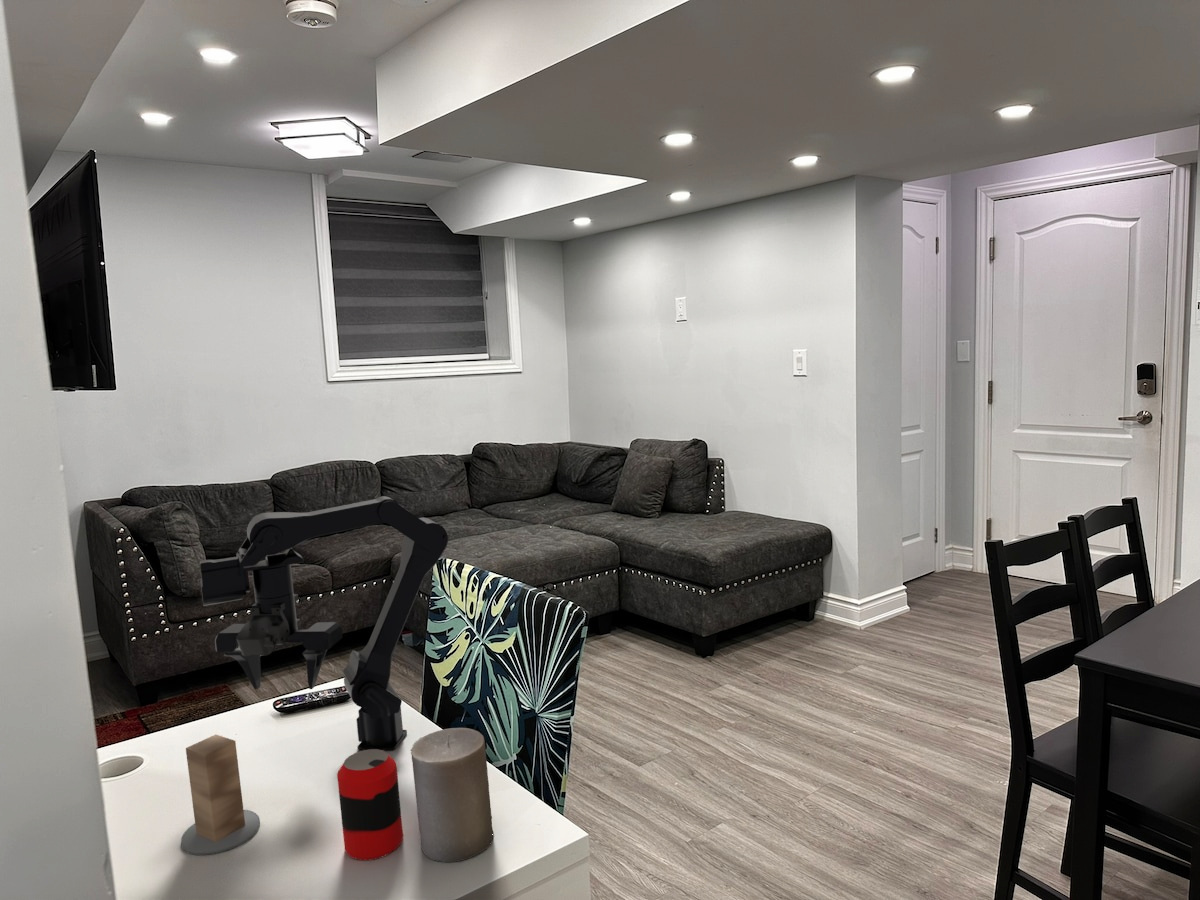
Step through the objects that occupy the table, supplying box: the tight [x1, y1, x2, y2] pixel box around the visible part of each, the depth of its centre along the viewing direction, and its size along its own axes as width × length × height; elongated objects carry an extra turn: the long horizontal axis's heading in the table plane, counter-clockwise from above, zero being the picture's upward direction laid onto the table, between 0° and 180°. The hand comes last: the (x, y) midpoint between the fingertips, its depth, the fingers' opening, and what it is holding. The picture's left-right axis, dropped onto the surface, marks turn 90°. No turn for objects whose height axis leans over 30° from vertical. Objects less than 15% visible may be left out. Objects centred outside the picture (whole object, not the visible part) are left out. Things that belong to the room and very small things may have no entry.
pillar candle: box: [410, 727, 495, 863], centre depth 111 cm, size 10×10×15 cm
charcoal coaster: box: [180, 809, 261, 856], centre depth 117 cm, size 10×10×1 cm
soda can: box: [336, 749, 404, 861], centre depth 112 cm, size 8×8×12 cm
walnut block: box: [185, 734, 245, 842], centre depth 116 cm, size 4×4×12 cm
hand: (284, 688), depth 134 cm, fingers open, 9 cm apart
